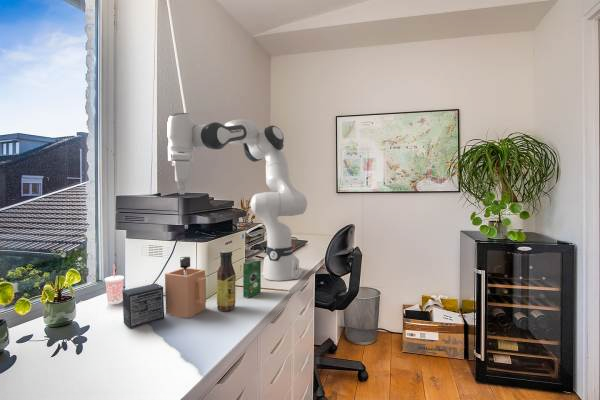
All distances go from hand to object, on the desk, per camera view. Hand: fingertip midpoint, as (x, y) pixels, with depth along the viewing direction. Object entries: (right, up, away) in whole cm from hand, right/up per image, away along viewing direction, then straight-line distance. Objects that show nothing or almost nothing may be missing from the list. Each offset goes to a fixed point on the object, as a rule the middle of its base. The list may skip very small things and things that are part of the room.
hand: (181, 194), depth 124 cm
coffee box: (+26, -39, +4) cm, 47 cm away
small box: (-5, -41, -20) cm, 45 cm away
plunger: (+6, -38, -12) cm, 41 cm away
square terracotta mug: (+7, -40, -13) cm, 42 cm away
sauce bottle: (+19, -40, -10) cm, 45 cm away
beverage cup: (-23, -40, -4) cm, 46 cm away
